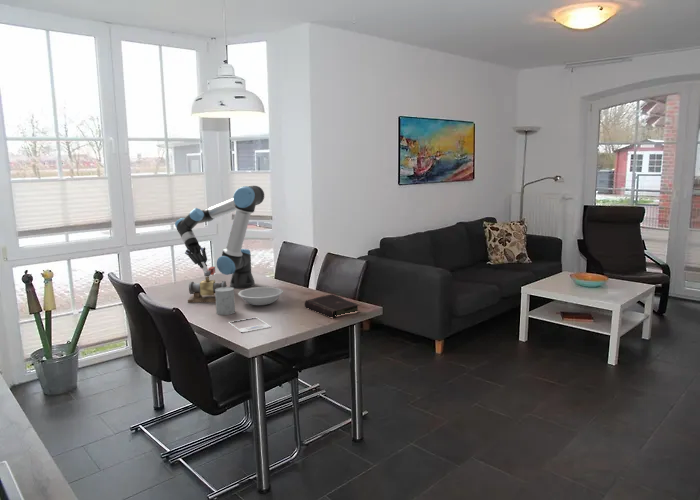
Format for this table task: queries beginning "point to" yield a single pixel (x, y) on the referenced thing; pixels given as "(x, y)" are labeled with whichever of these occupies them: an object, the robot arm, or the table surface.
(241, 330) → the photo frame
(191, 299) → the valve stand
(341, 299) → the diary
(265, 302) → the sink basin
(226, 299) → the speckled concrete cylinder
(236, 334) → the table surface
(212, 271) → the lever
